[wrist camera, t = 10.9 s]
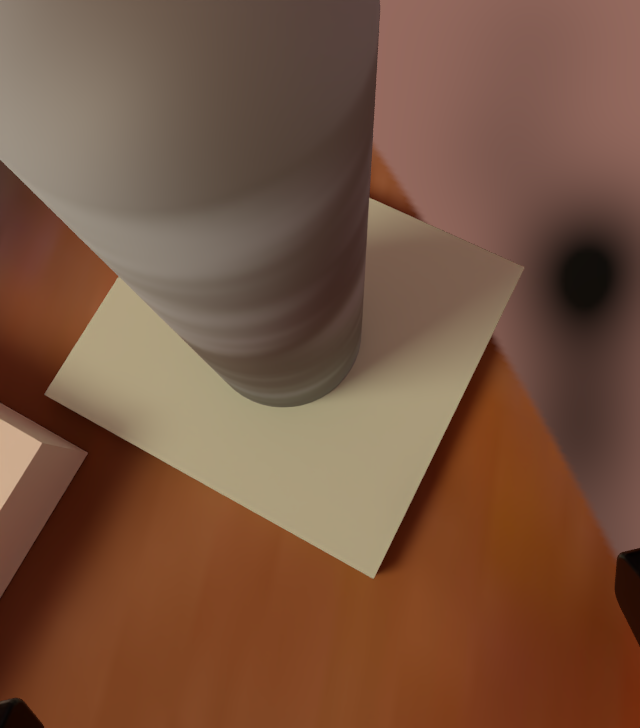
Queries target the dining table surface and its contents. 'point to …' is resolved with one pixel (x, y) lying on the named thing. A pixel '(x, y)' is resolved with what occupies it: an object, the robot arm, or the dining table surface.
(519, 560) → the dining table surface
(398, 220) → the pad
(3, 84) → the peg
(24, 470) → the pocket block
